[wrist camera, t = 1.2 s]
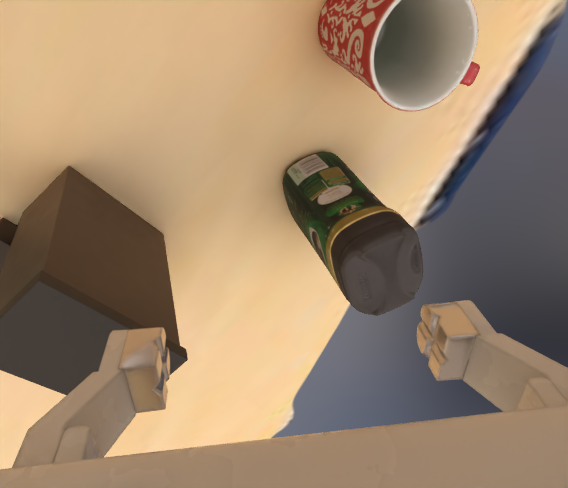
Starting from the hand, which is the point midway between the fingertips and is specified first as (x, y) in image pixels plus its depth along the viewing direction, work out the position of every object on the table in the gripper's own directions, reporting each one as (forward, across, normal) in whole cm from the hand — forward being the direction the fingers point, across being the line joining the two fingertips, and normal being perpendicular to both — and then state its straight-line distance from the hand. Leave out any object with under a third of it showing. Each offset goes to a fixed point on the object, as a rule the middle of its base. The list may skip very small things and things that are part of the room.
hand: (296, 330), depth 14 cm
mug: (+37, -12, -4) cm, 40 cm away
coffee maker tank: (+33, +16, +13) cm, 39 cm away
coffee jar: (+37, -8, +12) cm, 40 cm away
